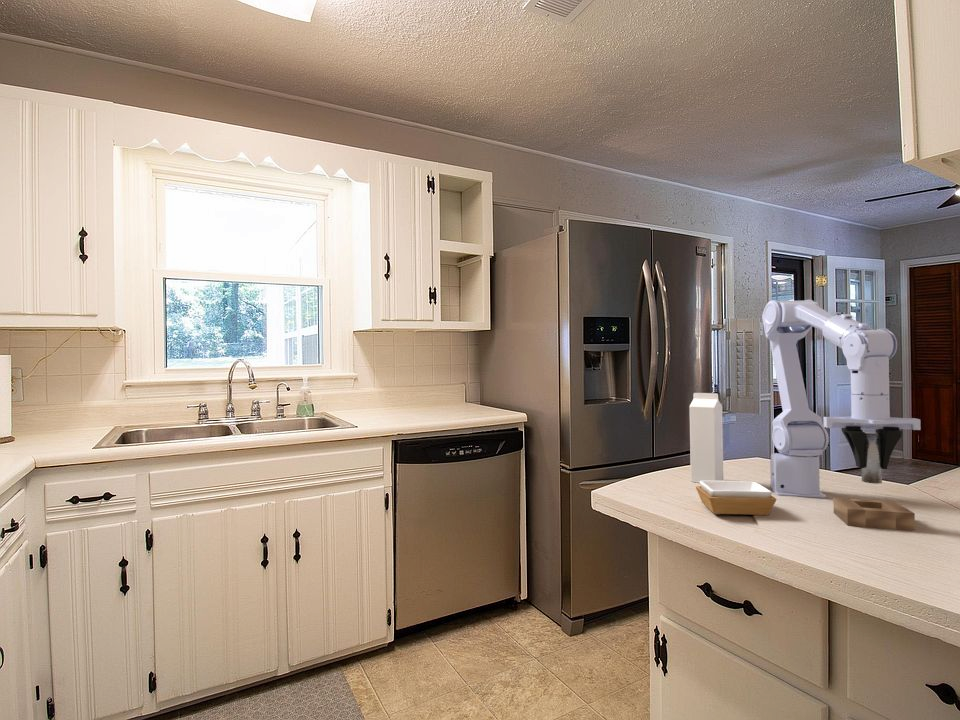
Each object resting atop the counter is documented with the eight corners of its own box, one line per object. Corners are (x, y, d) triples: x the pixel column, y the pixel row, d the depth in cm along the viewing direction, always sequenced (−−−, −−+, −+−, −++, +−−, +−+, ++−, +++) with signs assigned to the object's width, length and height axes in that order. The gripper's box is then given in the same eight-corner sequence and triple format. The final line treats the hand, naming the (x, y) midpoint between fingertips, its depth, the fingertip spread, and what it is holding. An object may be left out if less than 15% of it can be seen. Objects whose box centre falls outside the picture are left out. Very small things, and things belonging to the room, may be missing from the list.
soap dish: (709, 516, 101) (709, 490, 101) (695, 502, 111) (694, 479, 111) (777, 518, 100) (777, 491, 100) (756, 503, 110) (756, 479, 110)
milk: (715, 485, 125) (714, 394, 125) (690, 481, 129) (688, 393, 129) (723, 480, 130) (722, 392, 129) (699, 477, 134) (697, 391, 133)
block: (847, 525, 94) (847, 508, 94) (833, 512, 102) (833, 497, 102) (914, 530, 91) (914, 513, 91) (895, 517, 98) (894, 501, 98)
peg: (865, 483, 95) (864, 434, 95) (859, 479, 98) (858, 431, 98) (884, 484, 94) (883, 434, 94) (878, 480, 97) (877, 432, 97)
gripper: (831, 395, 95) (832, 469, 95) (928, 396, 90) (929, 474, 90) (819, 393, 102) (821, 462, 101) (909, 393, 97) (911, 466, 97)
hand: (871, 467), depth 96 cm, fingers closed on peg, 3 cm apart
